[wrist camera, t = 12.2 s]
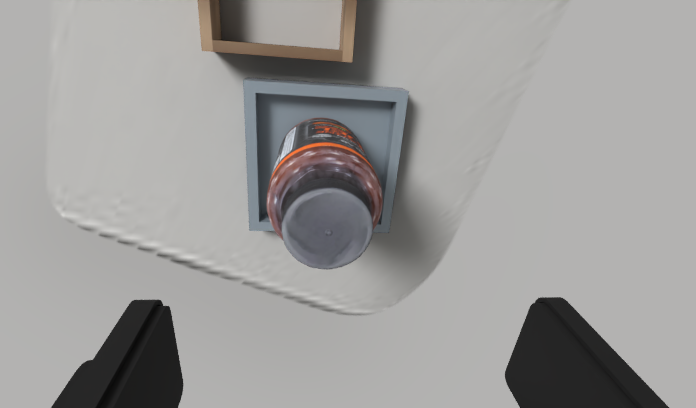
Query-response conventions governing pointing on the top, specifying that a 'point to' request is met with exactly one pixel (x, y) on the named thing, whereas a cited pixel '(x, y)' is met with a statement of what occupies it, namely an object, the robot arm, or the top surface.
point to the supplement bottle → (324, 194)
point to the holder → (214, 43)
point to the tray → (320, 102)
